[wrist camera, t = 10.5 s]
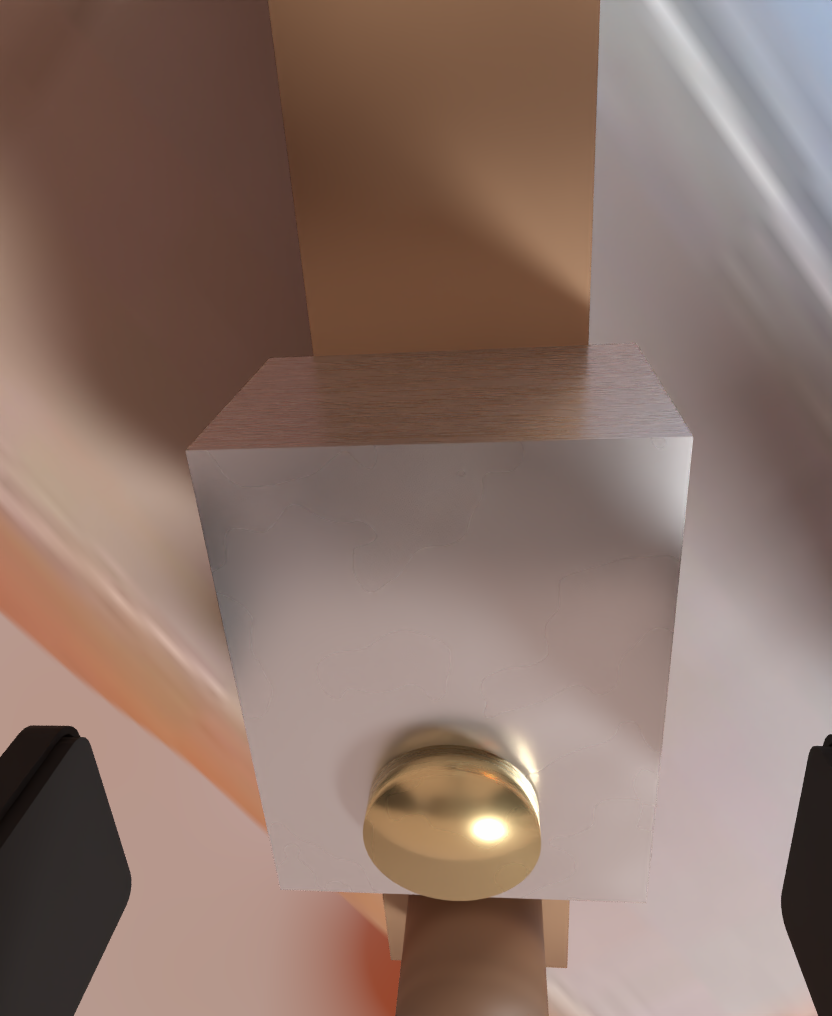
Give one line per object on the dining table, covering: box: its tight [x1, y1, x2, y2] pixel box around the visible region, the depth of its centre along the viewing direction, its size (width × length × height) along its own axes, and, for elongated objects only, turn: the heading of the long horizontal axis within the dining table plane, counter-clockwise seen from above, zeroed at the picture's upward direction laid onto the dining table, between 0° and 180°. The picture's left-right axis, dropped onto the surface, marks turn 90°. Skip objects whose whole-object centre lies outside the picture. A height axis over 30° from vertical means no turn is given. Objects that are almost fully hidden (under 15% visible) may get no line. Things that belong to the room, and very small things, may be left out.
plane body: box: [268, 0, 600, 1016], centre depth 15 cm, size 26×5×8 cm, turn 4°
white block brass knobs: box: [185, 343, 693, 903], centre depth 12 cm, size 8×6×5 cm
